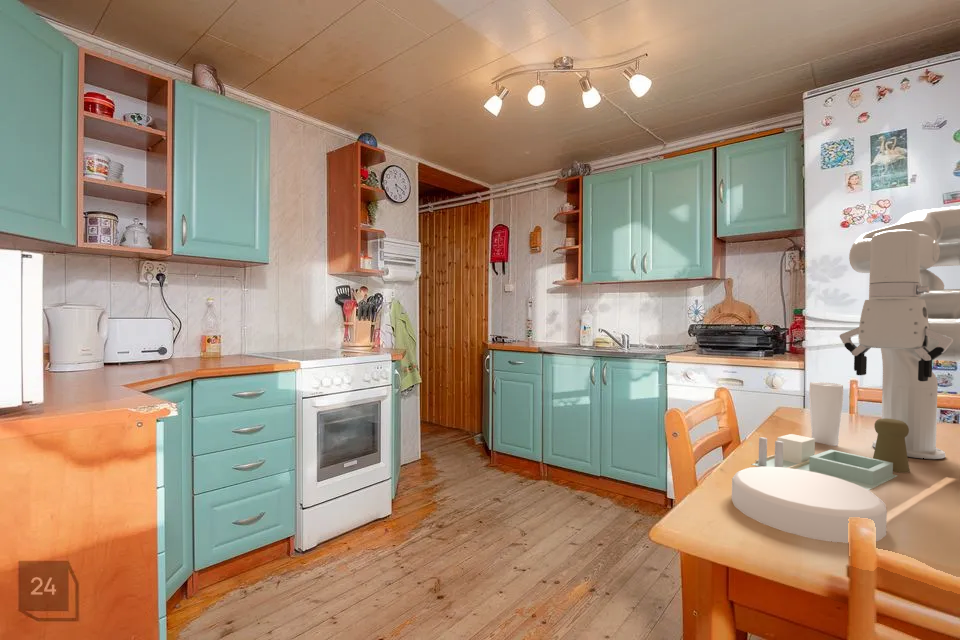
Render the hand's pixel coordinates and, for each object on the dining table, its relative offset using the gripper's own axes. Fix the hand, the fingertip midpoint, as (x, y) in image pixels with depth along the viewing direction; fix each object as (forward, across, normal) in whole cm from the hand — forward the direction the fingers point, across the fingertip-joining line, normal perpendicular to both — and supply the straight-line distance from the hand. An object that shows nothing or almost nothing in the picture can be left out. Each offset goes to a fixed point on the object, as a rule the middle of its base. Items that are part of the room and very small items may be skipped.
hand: (890, 377), depth 93 cm
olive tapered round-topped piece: (+20, 0, -1) cm, 20 cm away
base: (+20, +6, +13) cm, 24 cm away
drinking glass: (+19, +16, -15) cm, 29 cm away
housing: (+18, +12, +10) cm, 24 cm away
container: (+21, 0, +36) cm, 42 cm away
